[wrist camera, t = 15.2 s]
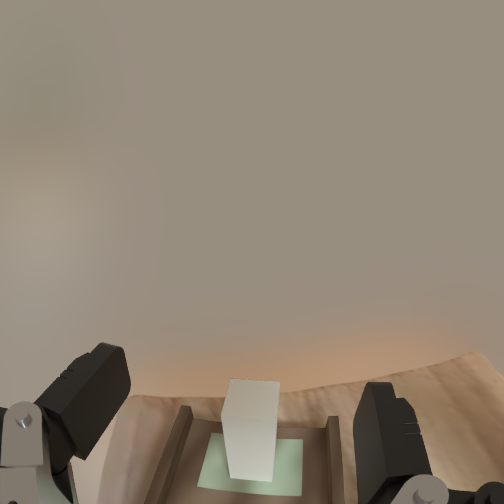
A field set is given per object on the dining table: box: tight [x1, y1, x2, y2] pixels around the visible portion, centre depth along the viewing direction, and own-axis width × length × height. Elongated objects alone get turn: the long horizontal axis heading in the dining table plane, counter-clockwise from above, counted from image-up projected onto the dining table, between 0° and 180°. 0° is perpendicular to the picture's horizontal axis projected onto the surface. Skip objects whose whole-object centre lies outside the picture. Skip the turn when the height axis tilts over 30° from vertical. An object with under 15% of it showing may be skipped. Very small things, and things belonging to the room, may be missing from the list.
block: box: [221, 378, 280, 482], centre depth 27 cm, size 4×4×12 cm
